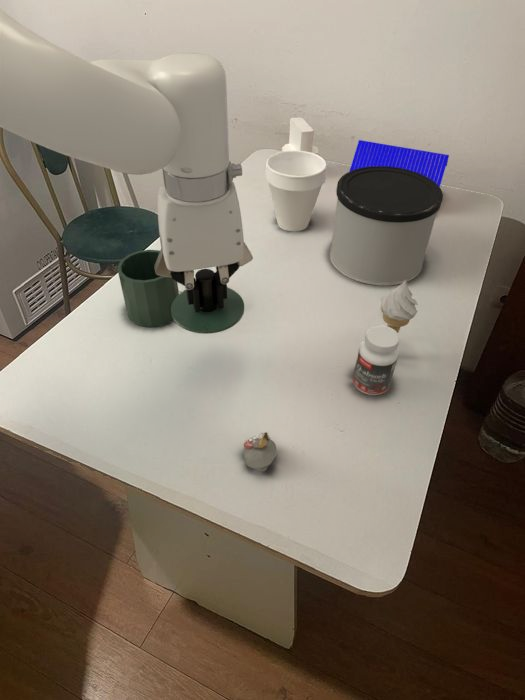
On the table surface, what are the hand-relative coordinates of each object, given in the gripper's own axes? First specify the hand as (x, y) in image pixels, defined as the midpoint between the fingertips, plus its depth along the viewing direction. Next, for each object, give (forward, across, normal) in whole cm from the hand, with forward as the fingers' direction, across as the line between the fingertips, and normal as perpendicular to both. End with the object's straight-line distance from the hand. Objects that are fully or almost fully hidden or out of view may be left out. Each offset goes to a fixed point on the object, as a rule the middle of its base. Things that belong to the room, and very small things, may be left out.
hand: (207, 303), depth 71 cm
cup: (+14, -26, -39) cm, 49 cm away
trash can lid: (+1, 0, 0) cm, 1 cm away
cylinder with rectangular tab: (+14, -35, -62) cm, 72 cm away
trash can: (+13, +7, -17) cm, 23 cm away
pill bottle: (+14, -23, +9) cm, 28 cm away
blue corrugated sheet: (+14, -53, -45) cm, 71 cm away
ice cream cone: (+14, -28, +4) cm, 31 cm away
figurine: (+14, -3, +18) cm, 23 cm away
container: (+14, -38, -22) cm, 46 cm away
